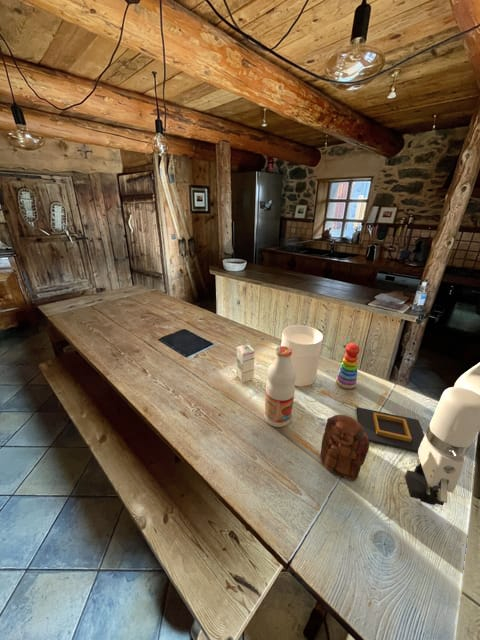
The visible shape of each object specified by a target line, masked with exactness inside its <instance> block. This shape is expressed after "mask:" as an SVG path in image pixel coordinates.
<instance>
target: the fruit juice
mask: <svg viewBox="0 0 480 640" xmlns="http://www.w3.org/2000/svg"><path fill="white" fill-rule="evenodd" d="M291 355H292V350H291V348H289V347H287V346H281V345H279V346H277V347H276V349H275V359H274V361H273V362H272V363H271V364H270V365H269V366H268V367H267V378H268V379H267V381H266V384H265V395H264V396H265V398H264V410H263V411H264V412H263V416H264V417H263V418H264V419H265V421H266V422H267V424H268V425H270V426H272V427H276V428H283V427H285V426H287V425H289V424H290V422H291V420H292V415H293V406H294V398H295V393H296V386H295V385H294V381H295V379H296V370H295V368H294V367H293V365H292V363H291V360H290V357H291Z"/></svg>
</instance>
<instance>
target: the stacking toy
mask: <svg viewBox="0 0 480 640" xmlns="http://www.w3.org/2000/svg"><path fill="white" fill-rule="evenodd" d="M360 351H361V350H360V346H359V345H358V344H356V343H353V342H352V343H348V344H347V345H346V347H345V354H344V356H343V359H342V362H341V363H340V364H341V365H340V367H339V370H338V373H337V376H336V378H335V382H336V384H337V385H338V386H339V387H341V388H342V389H346V390H352V389H354V388H356V386H357V380H358V363H359V362H358V360H359V356H358V355H359V354H360Z"/></svg>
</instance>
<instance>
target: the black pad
mask: <svg viewBox="0 0 480 640" xmlns="http://www.w3.org/2000/svg"><path fill="white" fill-rule="evenodd" d="M404 480H405V483H406V486H407V491H408V495H409V498H414V499H417V500H420V497H421V494H422V492H423V490H424V489H426V488H427V480H426V477H425V475H424V474H422V473H417V472H414V471H413V470H409V469H407V470H406V472H405V474H404ZM432 489H433V490H438V487H435V486H434V487H432ZM444 504H445V502H441V501H439V500H438V501H437V503H436V504H435V505H440V506H444Z"/></svg>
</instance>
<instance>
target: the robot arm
mask: <svg viewBox="0 0 480 640" xmlns="http://www.w3.org/2000/svg"><path fill="white" fill-rule="evenodd" d="M479 432H480V362H478V363H477V364H475V365H474V366H472V367H471V368H469V369H468V370H467V371H465V372H464V373H463V374H461V375H460V376H459V377H458V378H457V380H456V381H455V382H454V385H453V386H451V387H448V388H446V389H444V391H443V392H442V394H441V395H440V398H439V401H438V403H437V406H436V408H435V411H434V413H433V416H432V417H431V420H430V422H429V424H428V427H427V429H426V432H425V433H424V438H423V440H422V442H421V444H420V447H419V450H418V453H417V455H418V459H417V461H416V466H415V468H414V469H413V470H414V471H413V472H417V473H422V474H424V475H425V477H426V480H427V488H426V489H424V490H423V492H422V494H421V497H420V499H419V501H420V502H421V503H425V504H428V505H433V506H435V505H437V504H436V503H437V501H438V500H439V501H441V502H444V504H448V492H449V493H453V492H454V491H455V489H456V487H457V485H458V482H459V480H460V479H461V475H462V473H463V468H464V464H465V458H464V457H466V455H467V454H468V451H469V449H470V448H471V446H472V444H473V442H474V440H475V438H476V436H477V435H478V433H479ZM434 486H435V487H438V490H433V489H432V487H434Z"/></svg>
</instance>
